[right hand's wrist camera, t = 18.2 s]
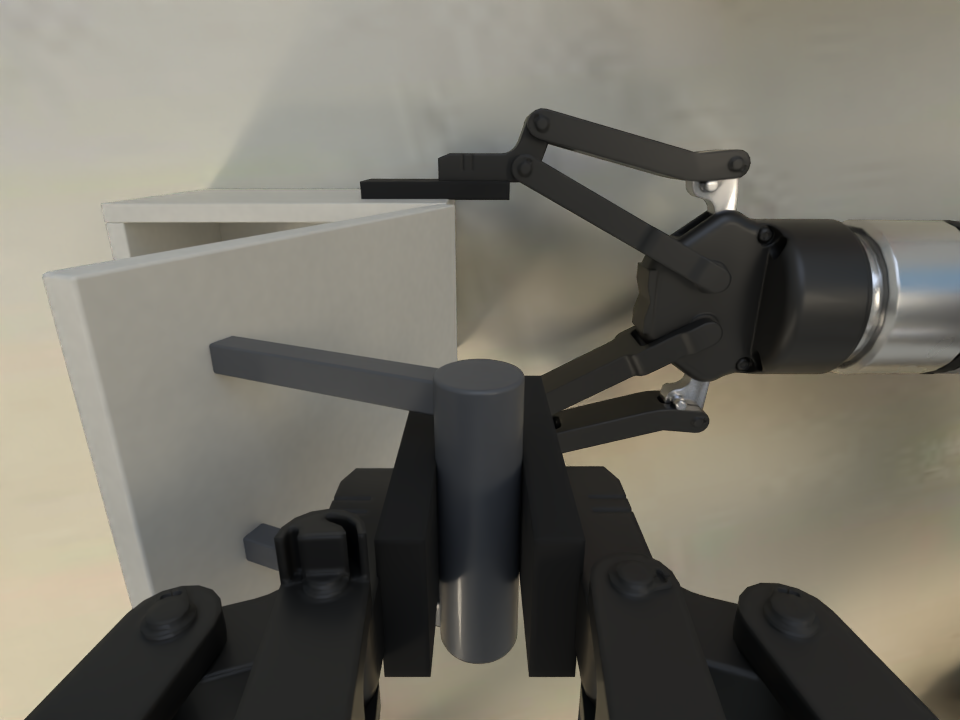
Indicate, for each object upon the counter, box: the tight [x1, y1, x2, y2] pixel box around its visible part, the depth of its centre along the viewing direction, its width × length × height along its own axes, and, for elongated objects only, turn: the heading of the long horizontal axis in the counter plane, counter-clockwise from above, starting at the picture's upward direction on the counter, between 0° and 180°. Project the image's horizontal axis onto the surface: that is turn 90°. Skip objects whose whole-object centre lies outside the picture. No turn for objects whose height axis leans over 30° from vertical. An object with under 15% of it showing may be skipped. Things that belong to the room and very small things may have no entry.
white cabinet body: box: [101, 189, 455, 260], centre depth 29 cm, size 14×10×10 cm
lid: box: [42, 204, 525, 664], centre depth 16 cm, size 15×10×8 cm
